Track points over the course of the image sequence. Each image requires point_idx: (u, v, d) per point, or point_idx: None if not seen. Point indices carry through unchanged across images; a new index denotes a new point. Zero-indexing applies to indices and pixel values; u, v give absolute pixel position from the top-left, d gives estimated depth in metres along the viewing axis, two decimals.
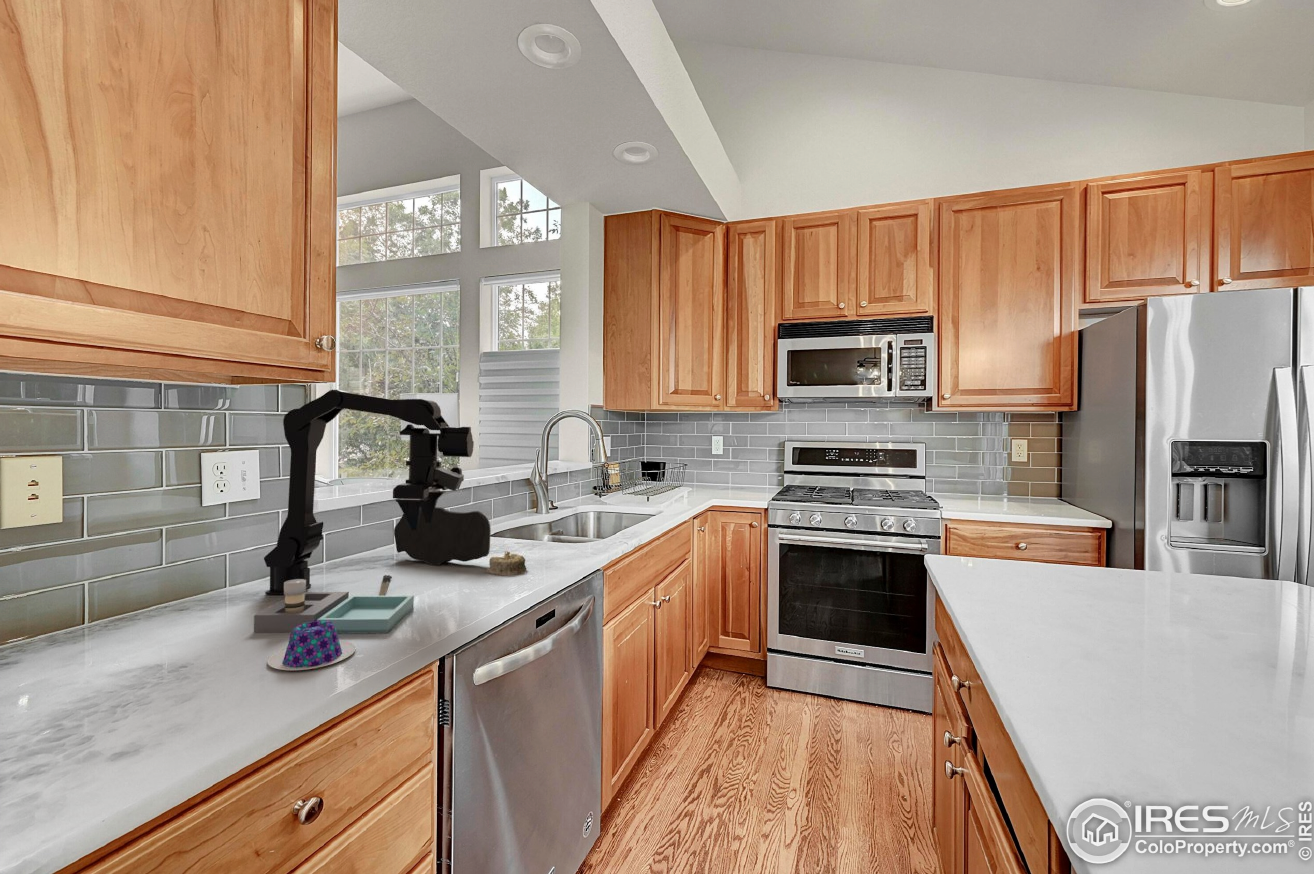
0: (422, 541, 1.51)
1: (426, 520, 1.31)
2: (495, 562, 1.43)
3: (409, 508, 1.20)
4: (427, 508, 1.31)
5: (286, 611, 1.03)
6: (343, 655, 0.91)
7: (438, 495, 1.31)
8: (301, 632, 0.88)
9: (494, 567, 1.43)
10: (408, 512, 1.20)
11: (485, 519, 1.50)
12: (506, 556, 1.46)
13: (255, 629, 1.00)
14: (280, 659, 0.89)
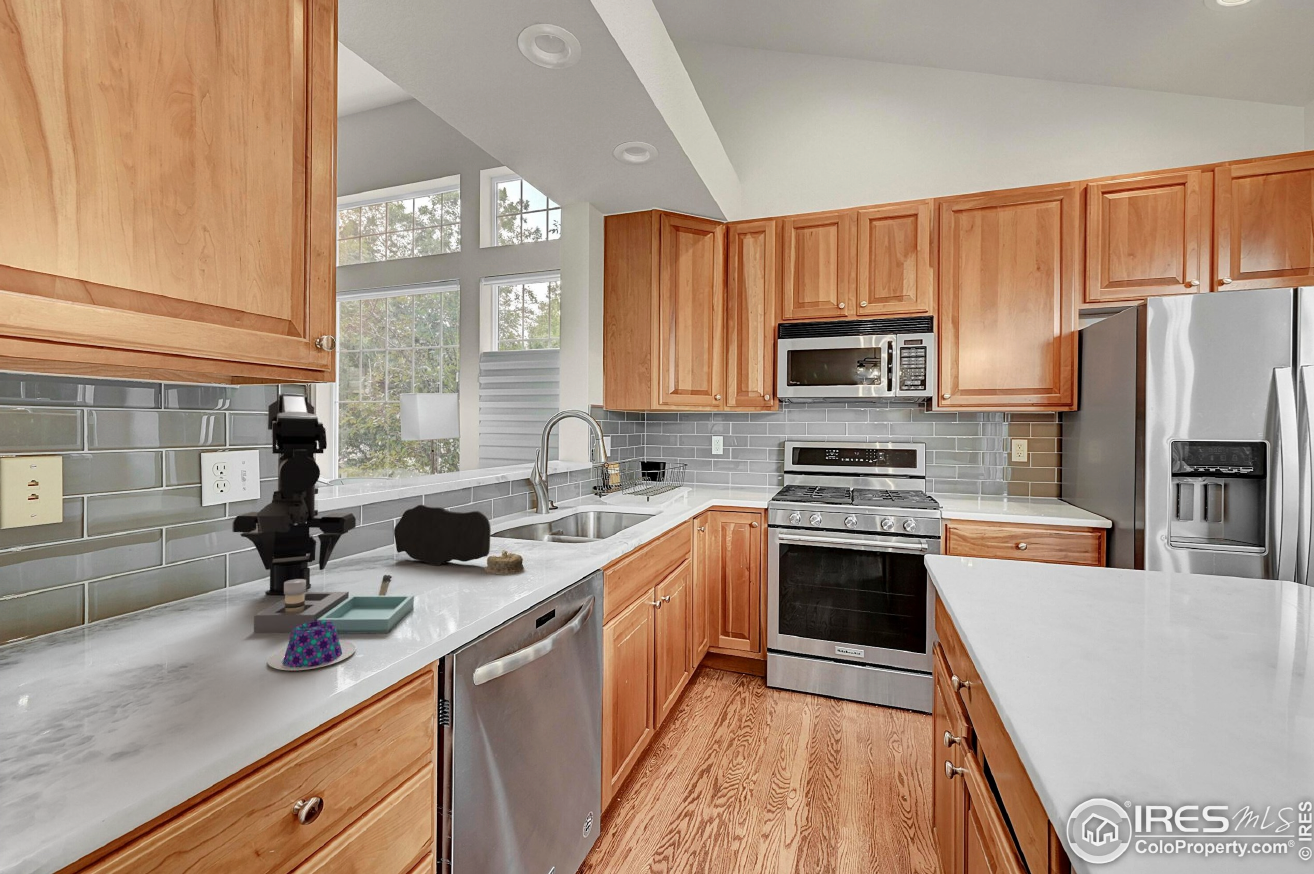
0: (422, 541, 1.51)
1: None
2: (493, 561, 1.44)
3: None
4: None
5: (286, 611, 1.03)
6: (343, 655, 0.91)
7: None
8: (301, 632, 0.88)
9: (492, 566, 1.44)
10: None
11: (485, 519, 1.50)
12: (504, 555, 1.46)
13: (255, 629, 1.00)
14: (280, 659, 0.89)
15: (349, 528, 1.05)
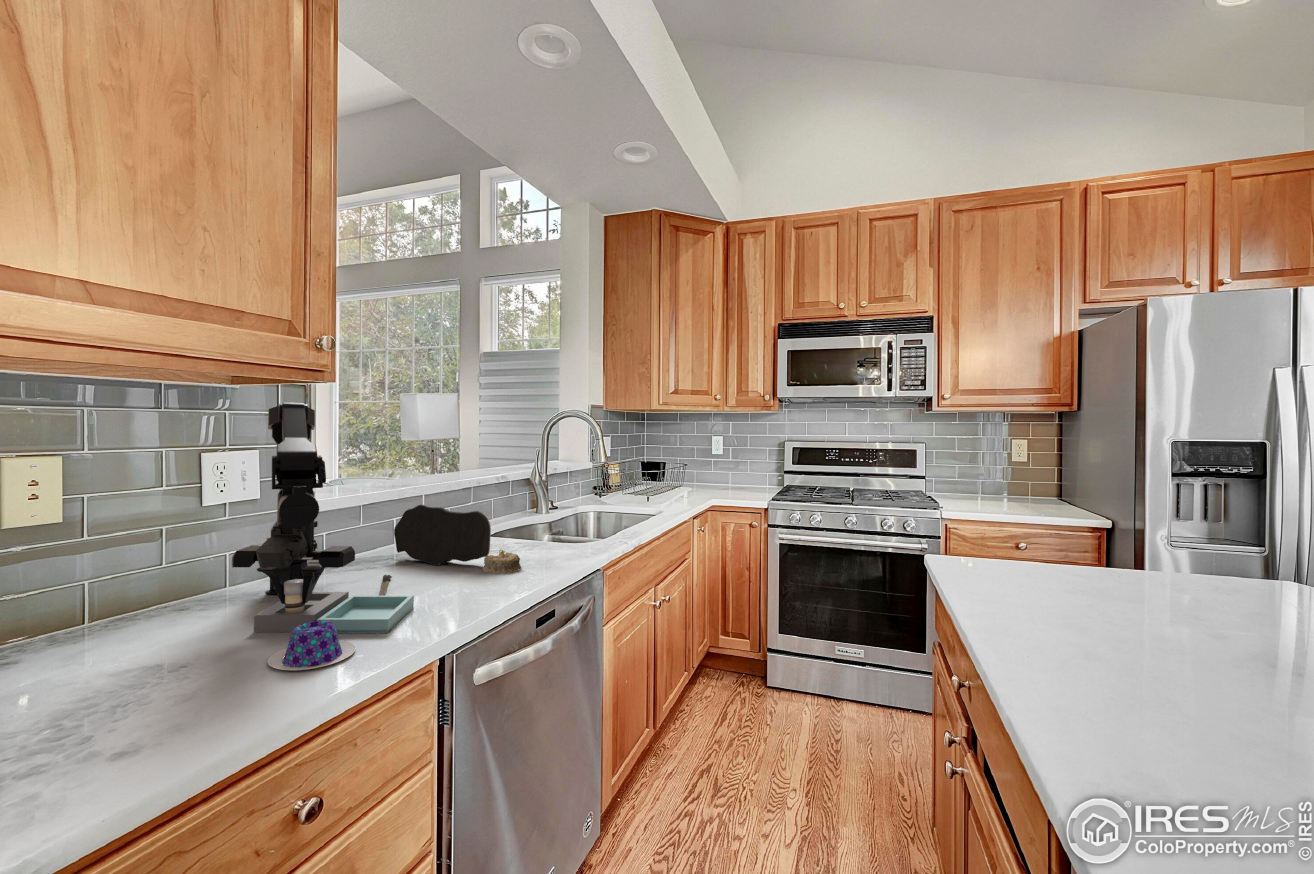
0: (422, 541, 1.52)
1: None
2: (490, 561, 1.44)
3: None
4: None
5: (286, 611, 1.03)
6: (343, 655, 0.91)
7: None
8: (301, 632, 0.88)
9: (489, 565, 1.44)
10: None
11: (485, 519, 1.50)
12: (501, 555, 1.47)
13: (255, 629, 1.00)
14: (280, 659, 0.89)
15: (348, 561, 1.05)
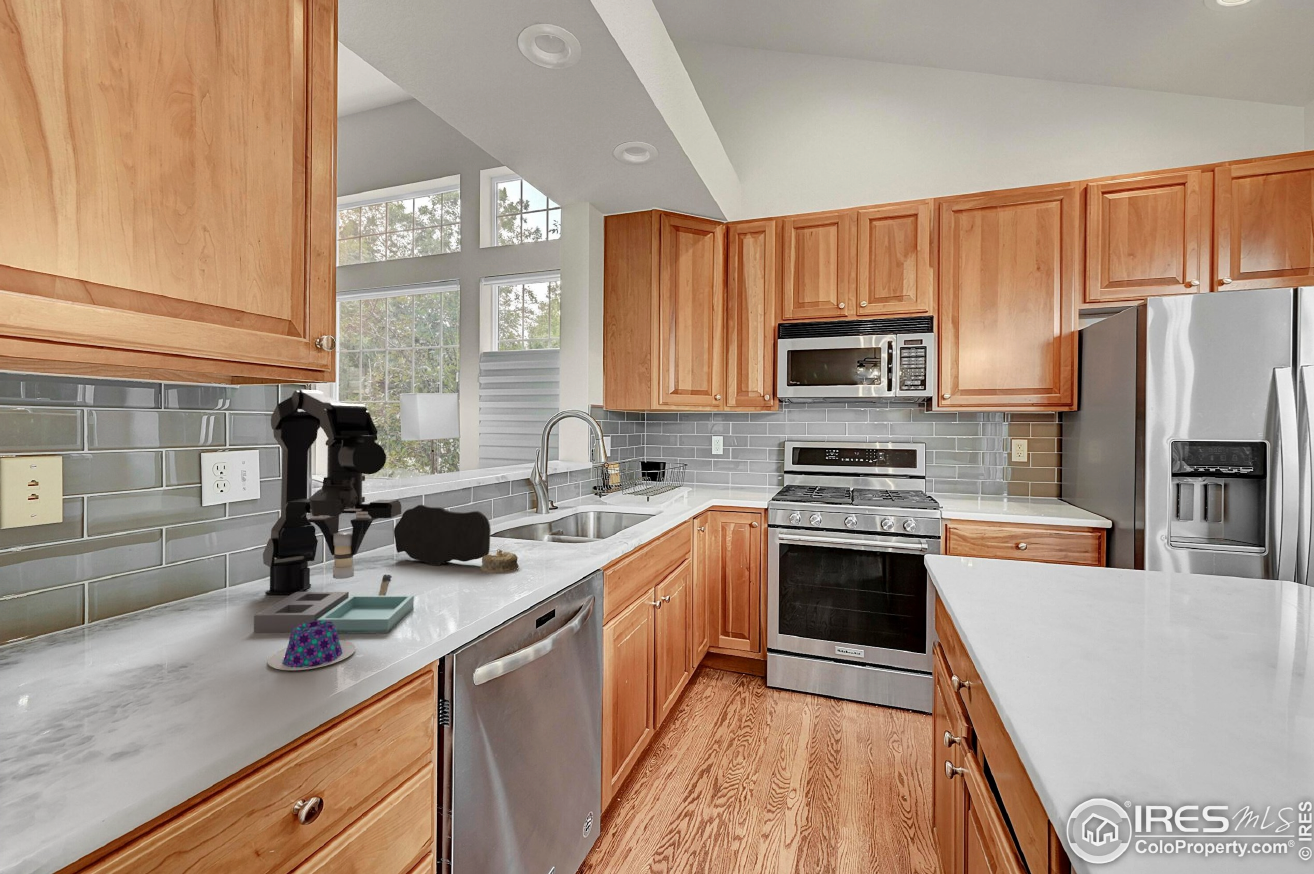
0: (422, 541, 1.51)
1: None
2: (488, 560, 1.45)
3: None
4: None
5: (336, 562, 1.04)
6: (343, 655, 0.91)
7: None
8: (301, 632, 0.88)
9: (487, 565, 1.45)
10: None
11: (485, 519, 1.50)
12: (498, 554, 1.48)
13: (255, 629, 1.00)
14: (280, 659, 0.89)
15: (396, 514, 1.06)
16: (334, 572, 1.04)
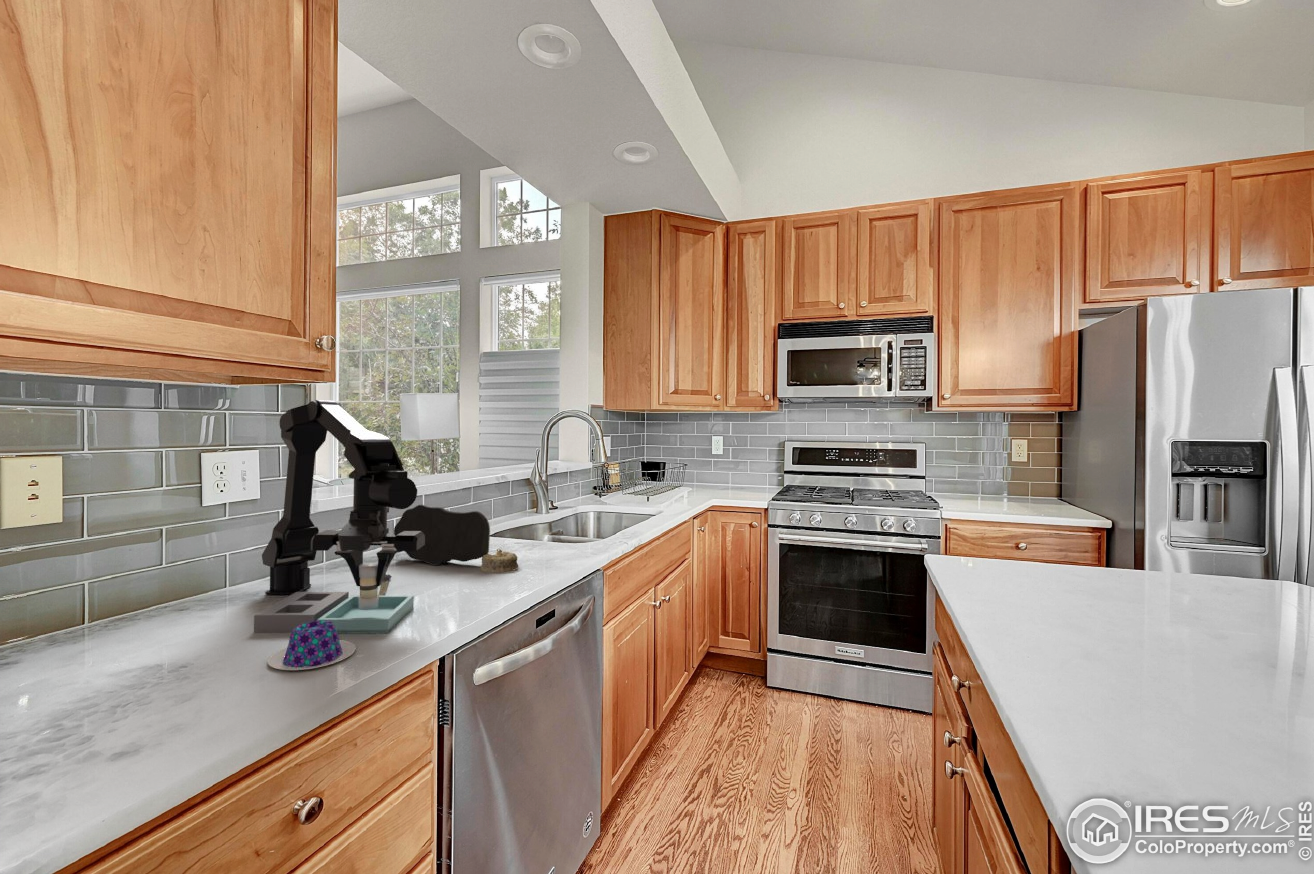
0: None
1: None
2: (488, 560, 1.45)
3: None
4: None
5: (361, 593, 1.06)
6: (344, 654, 0.92)
7: None
8: (302, 632, 0.88)
9: (487, 565, 1.45)
10: None
11: (484, 519, 1.50)
12: (498, 554, 1.48)
13: (255, 629, 1.00)
14: (280, 659, 0.89)
15: (420, 546, 1.08)
16: (360, 603, 1.06)
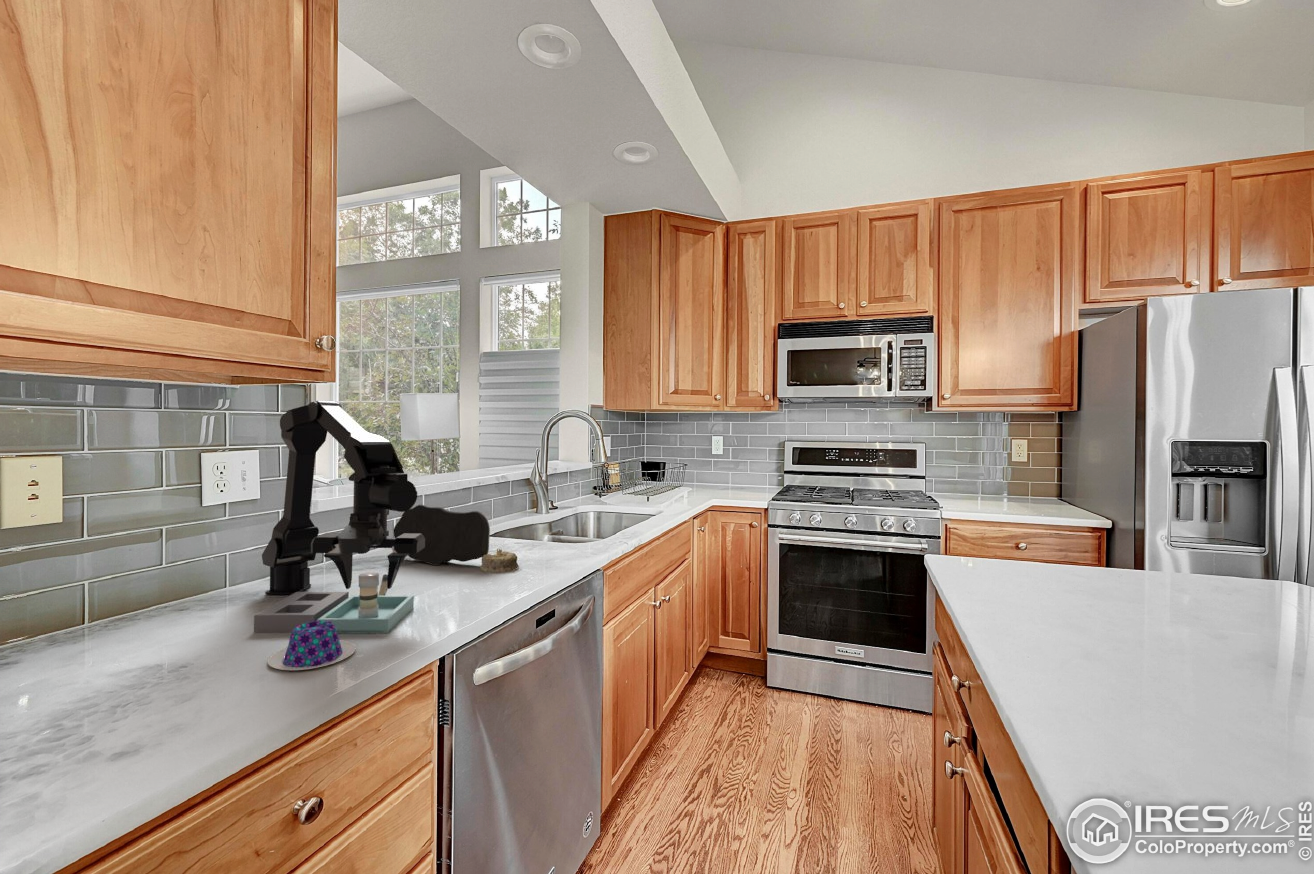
0: None
1: None
2: (488, 560, 1.45)
3: None
4: None
5: (361, 603, 1.06)
6: (344, 654, 0.92)
7: None
8: (302, 632, 0.88)
9: (487, 564, 1.45)
10: None
11: (484, 519, 1.50)
12: (498, 554, 1.48)
13: (255, 629, 1.00)
14: (280, 660, 0.89)
15: (420, 548, 1.08)
16: (360, 613, 1.06)
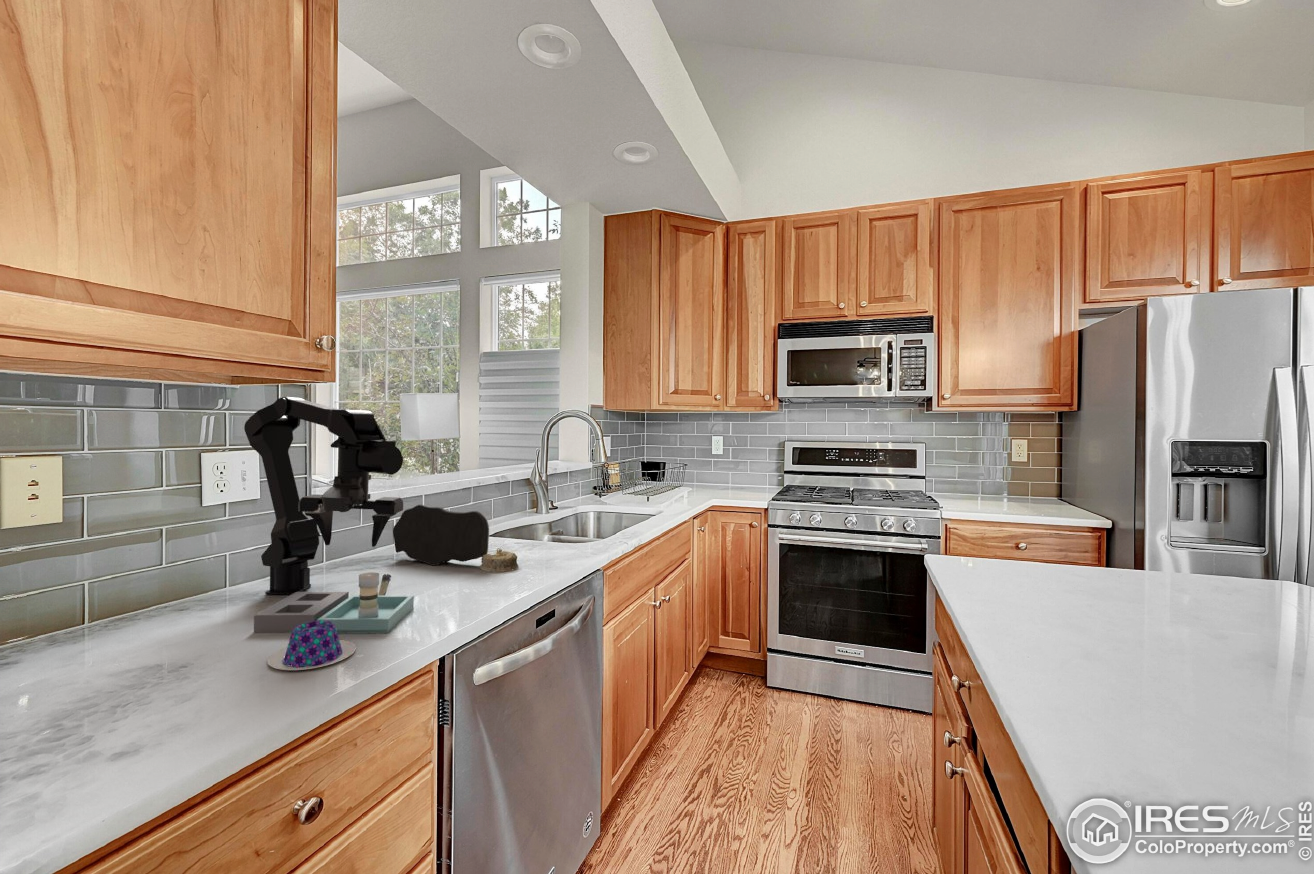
0: (421, 541, 1.52)
1: None
2: (489, 559, 1.46)
3: None
4: None
5: (361, 603, 1.06)
6: (344, 654, 0.92)
7: None
8: (303, 632, 0.88)
9: (488, 564, 1.46)
10: None
11: (483, 519, 1.50)
12: (498, 553, 1.49)
13: (255, 629, 1.00)
14: (279, 660, 0.89)
15: (398, 510, 1.18)
16: (360, 613, 1.06)
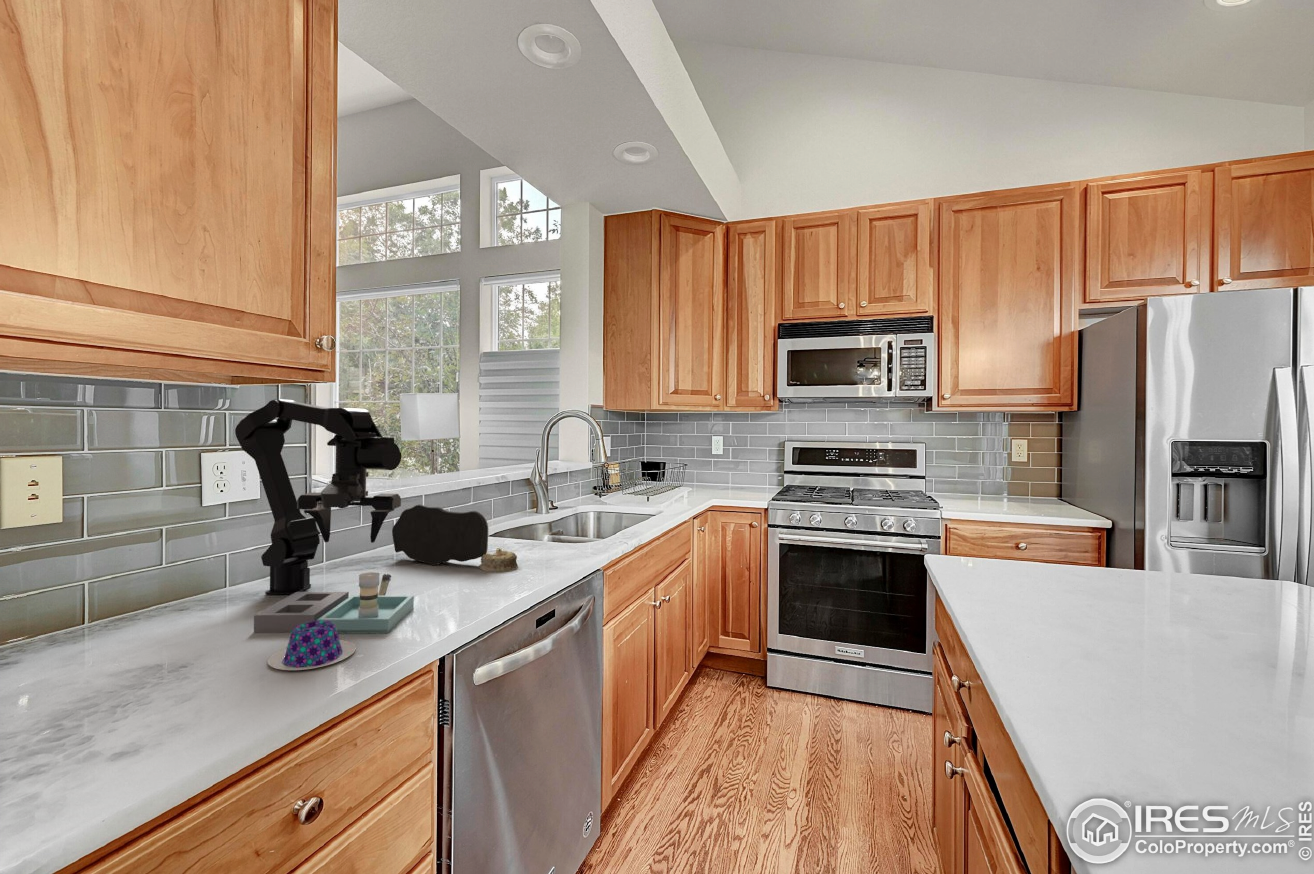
0: (420, 541, 1.51)
1: None
2: (489, 559, 1.46)
3: None
4: None
5: (361, 603, 1.06)
6: (344, 653, 0.92)
7: None
8: (303, 632, 0.88)
9: (488, 564, 1.46)
10: None
11: (483, 519, 1.50)
12: (498, 553, 1.49)
13: (255, 629, 1.00)
14: (279, 660, 0.89)
15: (396, 506, 1.20)
16: (360, 613, 1.06)
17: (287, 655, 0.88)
